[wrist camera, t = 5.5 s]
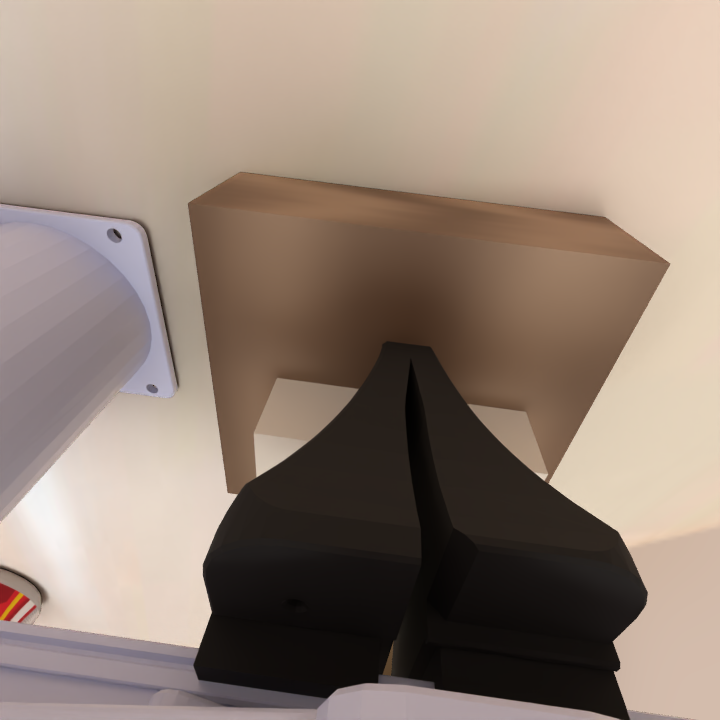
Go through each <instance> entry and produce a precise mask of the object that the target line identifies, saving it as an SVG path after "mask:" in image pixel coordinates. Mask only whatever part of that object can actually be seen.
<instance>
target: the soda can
mask: <svg viewBox="0 0 720 720" xmlns="http://www.w3.org/2000/svg"><path fill="white" fill-rule="evenodd" d="M40 612H41V595H40V593H39V591H38V590H37V589H36V587H35V586H34V585H32V584H31V583H30V582H29V581H27V580H26V579H24V578H22V577H20V576H18V575H16V574H14V573H12V572H9V571H7V570H4V569H0V620H4V621H11V622H18V623H25V624H32V625H33V623H34V622H35V620H36V619H37V617H38V616H39V614H40Z"/></svg>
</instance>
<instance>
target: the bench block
mask: <svg viewBox="0 0 720 720" xmlns="http://www.w3.org/2000/svg"><path fill="white" fill-rule="evenodd" d="M188 208H189V215H190V222H191V229H192V237H193V244H194V251H195V258H196V266H197V273H198V280H199V287H200V295H201V302H202V309H203V316H204V324H205V331H206V338H207V346H208V353H209V360H210V367H211V375H212V382H213V389H214V396H215V404H216V411H217V418H218V425H219V433H220V440H221V447H222V454H223V462H224V469H225V476H226V483H227V491H228V493H232V494H239V492H240V491H241V489H242V488H243V487H244V485H245V484H246V483H248V482H250V481H251V480H253V479H255V478H256V462H255V447H254V431H255V429H256V426H257V424H258V422H259V419H260V417H261V415H262V412H263V410H264V408H265V405H266V403H267V400H268V398H269V396H270V393H271V391H272V389H273V386H274V384H275V382H276V379H277V378H282V379H289V380H297V381H304V382H311V383H319V384H326V385H333V386H341V387H348V388H355V389H359V388H360V387H361V386H362V384H363V383H364V381H365V380H366V378H367V377H368V375H369V373H370V372H371V370H372V368H373V367H374V365H375V363H376V361H377V359H378V357H379V355H380V352H381V349H382V344H383V343H385V342H386V341H390V342H398V343H406V344H414V345H422V346H430V347H431V348H432V349H433V351H434V353H435V354H436V356H437V358H438V360H439V362H440V363H441V365H442V367H443V368H444V370H445V372H446V373H447V375H448V377H449V378H450V380H451V381H452V383H453V384H454V386H455V387H456V389H457V390H458V392H459V393H460V395H461V396H462V397H463V399H464V400H465V402H466V403H467V404H472V405H480V406H487V407H494V408H502V409H509V410H516V411H524V412H526V413H527V416H528V419H529V422H530V425H531V427H532V430H533V433H534V436H535V439H536V441H537V444H538V447H539V450H540V453H541V455H542V458H543V461H544V464H545V467H546V470H547V472H548V475H547V477H546V479H545V482H547V483H549V481H550V479H551V478H552V476H553V474H554V472H555V470H556V469H557V467H558V465H559V463H560V461H561V460H562V458H563V456H564V454H565V452H566V451H567V449H568V447H569V445H570V443H571V442H572V440H573V438H574V436H575V434H576V433H577V431H578V429H579V427H580V425H581V424H582V422H583V420H584V418H585V416H586V415H587V413H588V411H589V409H590V407H591V406H592V404H593V402H594V400H595V398H596V397H597V395H598V393H599V391H600V389H601V388H602V386H603V384H604V382H605V380H606V379H607V377H608V375H609V373H610V371H611V370H612V368H613V366H614V364H615V362H616V361H617V359H618V357H619V355H620V353H621V352H622V350H623V348H624V346H625V344H626V343H627V341H628V339H629V337H630V336H631V334H632V332H633V330H634V328H635V327H636V325H637V323H638V321H639V319H640V318H641V316H642V314H643V312H644V310H645V309H646V307H647V305H648V303H649V301H650V300H651V298H652V296H653V294H654V292H655V291H656V289H657V287H658V285H659V283H660V282H661V280H662V278H663V276H664V274H665V273H666V271H667V269H668V267H669V265H670V263H669V262H667V261H666V260H664V259H663V258H662V257H660V256H659V255H657V254H656V253H655V252H653V251H652V250H650V249H649V248H648V247H646V246H645V245H643V244H642V243H641V242H639V241H638V240H636V239H635V238H634V237H632V236H631V235H629V234H628V233H627V232H625V231H624V230H622V229H621V228H620V227H618V226H617V225H615V224H614V223H613V222H611V221H610V220H608V219H607V218H606V217H598V216H590V215H582V214H574V213H566V212H558V211H550V210H542V209H534V208H525V207H517V206H509V205H501V204H493V203H485V202H477V201H469V200H461V199H453V198H445V197H437V196H429V195H421V194H412V193H404V192H396V191H388V190H380V189H372V188H364V187H356V186H348V185H340V184H332V183H324V182H316V181H308V180H299V179H291V178H283V177H275V176H267V175H259V174H251V173H243V172H240V173H238V174H236V175H235V176H233V177H231V178H230V179H228V180H226V181H224V182H223V183H221V184H219V185H218V186H216V187H214V188H213V189H211V190H209V191H208V192H206V193H204V194H203V195H201V196H199V197H198V198H196V199H194V200H192V201H191V202H189V203H188Z"/></svg>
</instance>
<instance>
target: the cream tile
mask: <svg viewBox="0 0 720 720" xmlns="http://www.w3.org/2000/svg"><path fill="white" fill-rule="evenodd" d="M358 390H359V389H355V388H348V387H341V386H333V385H326V384H319V383H311V382H304V381H297V380H289V379H282V378H277V379H276V382H275V384H274V386H273V389H272V391H271V393H270V396H269V398H268V400H267V403H266V405H265V408H264V410H263V412H262V415H261V417H260V419H259V422H258V424H257V426H256V429H255V431H254V447H255V462H256V477H258V476H259V475H261V474H263V473H264V472H266V471H268V470H269V469H271V468H273V467H274V466H276V465H277V464H279V463H280V462H282V461H283V460H285V459H286V458H288V457H289V456H290V455H292V454H293V453H294V452H296V451H297V450H298V449H299V448H301V447H302V446H303V445H305V444H306V443H307V442H309V441H310V440H311V439H312V438H314V437H315V436H316V435H317V434H318V433H319V432H320V431H321V430H322V429H324V428H325V427H326V426H327V425H328V424H329V423H330V422H331V421H332V420H333V419H334V418H335V417H336V416H337V415H338V414H339V413H340V412H341V411H342V409H343V408H344V407H345V406H346V405H347V404H348V403H349V401H350V400H351V399H352V398H353V396H354V395H355V394H356V392H357V391H358ZM468 406H469V407H470V408H471V409H472V411H473V412H474V413H475V415H476V416H477V417H478V418H479V420H480V421H481V422H482V423H483V424H484V425H485V426H486V427H487V428H488V429H489V431H490V432H491V433H492V434H493V435H494V436H495V437H496V438H497V439H498V440H499V441H500V442H501V443H502V444H503V445H504V446H505V447H506V448H507V449H508V450H509V451H510V452H511V453H512V454H514V455H515V456H516V457H517V458H518V459H519V460H520V461H521V462H523V463H524V464H525V465H526V466H527V467H528V468H529V469H531V470H532V471H533V472H534V473H535V474H537V475H538V476H539V477H540V478H542V479H543V480H544V481H545V479H546V477H547V475H548V472H547V470H546V467H545V464H544V461H543V458H542V455H541V453H540V450H539V447H538V444H537V441H536V439H535V436H534V433H533V430H532V427H531V425H530V422H529V419H528V416H527V413H526V412H524V411H516V410H509V409H502V408H494V407H487V406H480V405H472V404H468Z"/></svg>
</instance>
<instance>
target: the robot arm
mask: <svg viewBox="0 0 720 720" xmlns="http://www.w3.org/2000/svg"><path fill="white" fill-rule="evenodd" d="M113 229H116V230H117V231H118V232H119V233H120V234H121V236H122V239H119V238H118V237H117V236H116V235H115V234H114V232H113ZM153 385H155V386H156V387H157V388H156V387H154V386H153ZM176 391H177V382H176V377H175V372H174V367H173V362H172V357H171V352H170V348H169V343H168V338H167V333H166V328H165V323H164V318H163V313H162V308H161V303H160V298H159V293H158V288H157V283H156V278H155V273H154V268H153V263H152V258H151V253H150V248H149V243H148V238H147V235H146V232H145V230H144V229H143V228H142V226H141V225H139V224H138V223H136V222H134V221H131V220H123V219H115V218H107V217H99V216H91V215H83V214H75V213H68V212H60V211H52V210H44V209H36V208H28V207H20V206H12V205H4V204H0V523H1V522H2V521H3V520H4V518H5V517H6V516H7V515H8V514H9V513H10V512H11V511H12V510H13V508H14V507H15V506H16V505H17V504H18V503H19V502H20V501H21V500H22V498H23V497H24V496H25V495H26V494H27V493H28V492H29V491H30V490H31V489H32V487H33V486H34V485H35V484H36V483H37V482H38V481H39V480H40V479H41V477H42V476H43V475H44V474H45V473H46V472H47V471H48V470H49V469H50V467H51V466H52V465H53V464H54V463H55V462H56V461H57V460H58V459H59V457H60V456H61V455H62V454H63V453H64V452H65V451H66V450H67V449H68V447H69V446H70V445H71V444H72V443H73V442H74V441H75V440H76V439H77V438H78V436H79V435H80V434H81V433H82V432H83V431H84V430H85V429H86V428H87V426H88V425H89V424H90V423H91V422H92V421H93V420H94V419H95V418H96V416H97V415H98V414H99V413H100V412H101V411H102V410H103V409H104V408H105V406H106V405H107V404H108V403H109V402H110V401H111V400H112V399H113V398H114V397H115V395H116V394H117V393H118V392H125V393H132V394H139V395H147V396H154V397H162V398H170V397H173V395H174V394H175V393H176ZM203 578H204V582H205V586H206V590H207V594H208V598H209V602H210V606H211V610H212V614H211V617H210V619H209V622H208V625H207V628H206V631H205V633H204V636H203V639H202V642H201V645H200V647H199V648H192V647H185V646H178V645H171V644H164V643H157V642H150V641H143V640H136V639H129V638H122V637H116V636H109V635H102V634H95V633H88V632H81V631H74V630H67V629H60V628H53V627H46V626H39V625H32V624H25V623H18V622H11V621H4V620H0V720H694V719H687V718H680V717H673V716H666V715H660V714H653V713H646V712H638V711H631V710H627V709H626V706H625V703H624V700H623V697H622V694H621V692H620V689H619V686H618V683H617V680H616V677H615V674H614V671H616V672H617V671H618V670H619V669H620V661H619V658H618V655H617V652H616V650H615V647H614V644H613V641H614V640H615V639H616V638H617V637H618V636H619V635H620V634H621V633H622V632H623V631H624V630H625V629H626V628H627V627H628V626H629V625H630V624H631V623H632V622H633V621H634V620H635V619H636V618H637V617H638V616H639V614H640V613H641V611H642V610H643V609H644V607H645V605H646V602H647V594H648V592H647V590H646V588H645V586H644V584H643V582H642V579H641V577H640V575H639V573H638V570H637V568H636V566H635V564H634V561H633V559H632V557H631V555H630V553H629V551H628V549H627V547H626V545H625V543H624V542H623V540H622V538H621V536H620V534H619V533H618V531H616V530H615V529H613V528H611V527H610V526H608V525H607V524H605V523H604V522H602V521H601V520H599V519H598V518H596V517H595V516H593V515H592V514H590V513H589V512H587V511H586V510H584V509H583V508H581V507H580V506H578V505H577V504H575V503H573V502H572V501H571V500H569V499H568V498H567V497H565V496H564V495H563V494H561V493H560V492H559V491H557V490H556V489H555V488H553V487H552V486H551V485H549V484H548V483H547V482H545V481H544V480H543V479H542V478H540V477H539V476H538V475H537V474H535V473H534V472H533V471H532V470H531V469H529V468H528V467H527V466H526V465H525V464H524V463H523V462H521V461H520V460H519V459H518V458H517V457H516V456H515V455H514V454H512V453H511V452H510V451H509V450H508V449H507V448H506V447H505V446H504V445H503V444H502V443H501V442H500V441H499V440H498V439H497V438H496V437H495V436H494V435H493V434H492V433H491V432H490V431H489V429H488V428H487V427H486V426H485V425H484V424H483V423H482V422H481V421H480V420H479V418H478V417H477V416H476V415H475V413H474V412H473V411H472V409H471V408H470V407H469V406H468V404H467V403H466V402H465V400H464V399H463V397H462V396H461V395H460V393H459V392H458V390H457V389H456V387H455V386H454V384H453V383H452V381H451V380H450V378H449V377H448V375H447V373H446V372H445V370H444V368H443V367H442V365H441V363H440V362H439V360H438V358H437V356H436V354H435V353H434V351H433V349H432V348H431V347H430V346H422V345H414V344H406V343H398V342H390V341H386V342H385V343H383V344H382V349H381V352H380V355H379V357H378V359H377V361H376V363H375V365H374V367H373V368H372V370H371V372H370V373H369V375H368V377H367V378H366V380H365V381H364V383H363V384H362V386H361V387H360V388H359V390H358V391H357V392H356V394H355V395H354V396H353V398H352V399H351V400H350V401H349V403H348V404H347V405H346V406H345V407H344V408H343V409H342V411H341V412H340V413H339V414H338V415H337V416H336V417H335V418H334V419H333V420H332V421H331V422H330V423H329V424H328V425H327V426H326V427H325V428H324V429H322V430H321V431H320V432H319V433H318V434H317V435H316V436H315V437H314V438H312V439H311V440H310V441H309V442H307V443H306V444H305V445H303V446H302V447H301V448H299V449H298V450H297V451H296V452H294V453H293V454H292V455H290V456H289V457H288V458H286V459H285V460H283V461H282V462H280V463H279V464H277V465H276V466H274V467H273V468H271V469H269V470H268V471H266V472H264V473H263V474H261V475H259V476H258V477H256V478H255V479H253V480H251V481H250V482H248V483H246V484H245V485H244V487H243V488H242V489H241V491H240V492H239V494H238V495H237V497H236V498H235V500H234V501H233V503H232V505H231V506H230V508H229V509H228V511H227V513H226V515H225V516H224V518H223V520H222V522H221V523H220V525H219V527H218V529H217V532H216V534H215V536H214V539H213V541H212V544H211V546H210V548H209V551H208V553H207V556H206V558H205V561H204V563H203ZM393 640H394V644H393ZM392 644H393V658H392V673H391V676H388V675H382V674H383V671H384V668H385V665H386V662H387V659H388V656H389V653H390V650H391V646H392Z"/></svg>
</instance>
